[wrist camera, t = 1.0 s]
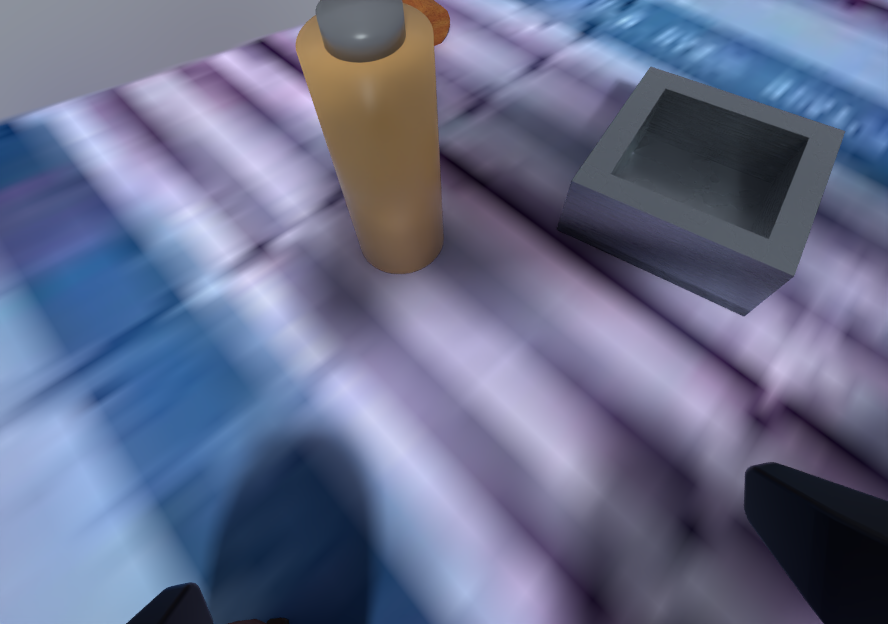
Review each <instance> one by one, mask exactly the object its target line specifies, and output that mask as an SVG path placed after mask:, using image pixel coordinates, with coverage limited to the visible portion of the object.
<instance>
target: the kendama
mask: <svg viewBox="0 0 888 624" xmlns="http://www.w3.org/2000/svg"><path fill="white" fill-rule="evenodd" d="M402 2H403V3H405V4H408V5H410V6H412V7H414V8H416V9H418V10H419V11H420V12H422V13H423V14H424V15H425V16H426V17H427V18H428V20H429V21H430V23H431V25H432V28H433V35H434V46H435V45H438V44H440V43H442V41H443V40H444V38H445V37H446V35H447V33H448V30H449V27H450V17H449V14H448V11H447V10H446V9H444V8H443V7H442V6H441V5H439V4H438V3H437V2H435V1H434V0H402Z"/></svg>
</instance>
